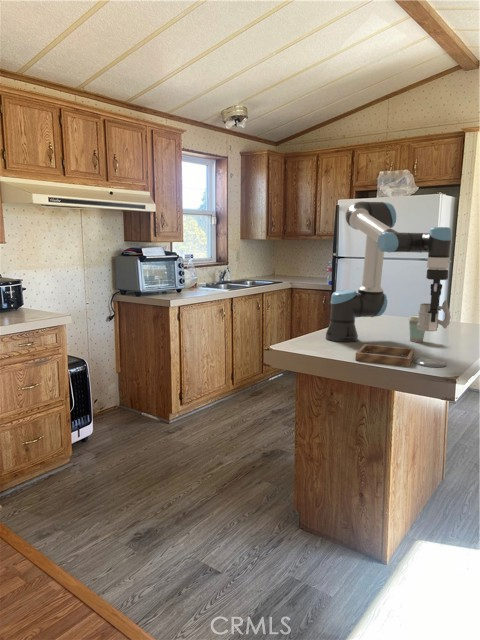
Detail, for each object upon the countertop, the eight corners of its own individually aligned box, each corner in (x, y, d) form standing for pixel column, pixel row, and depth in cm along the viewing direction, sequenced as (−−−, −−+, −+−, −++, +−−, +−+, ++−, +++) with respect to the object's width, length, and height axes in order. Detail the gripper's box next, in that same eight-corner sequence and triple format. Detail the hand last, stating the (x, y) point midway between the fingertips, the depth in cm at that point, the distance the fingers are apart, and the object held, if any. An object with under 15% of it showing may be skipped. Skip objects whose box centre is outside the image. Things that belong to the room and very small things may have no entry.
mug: (419, 327, 190) (421, 297, 188) (451, 330, 184) (453, 299, 182) (414, 330, 184) (416, 298, 182) (447, 333, 178) (450, 301, 176)
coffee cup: (427, 343, 224) (429, 318, 222) (408, 342, 226) (410, 317, 224) (424, 339, 233) (426, 315, 231) (405, 338, 234) (407, 314, 232)
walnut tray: (355, 360, 190) (355, 352, 190) (364, 351, 207) (364, 344, 206) (409, 366, 182) (410, 358, 181) (414, 356, 198) (414, 349, 198)
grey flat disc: (413, 365, 184) (413, 363, 183) (416, 359, 193) (416, 357, 193) (444, 368, 179) (445, 367, 179) (446, 362, 189) (446, 360, 189)
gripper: (447, 270, 170) (442, 334, 173) (449, 268, 188) (444, 325, 191) (425, 269, 173) (420, 332, 176) (429, 267, 191) (424, 324, 195)
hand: (433, 328), depth 184 cm, fingers closed on mug, 7 cm apart
